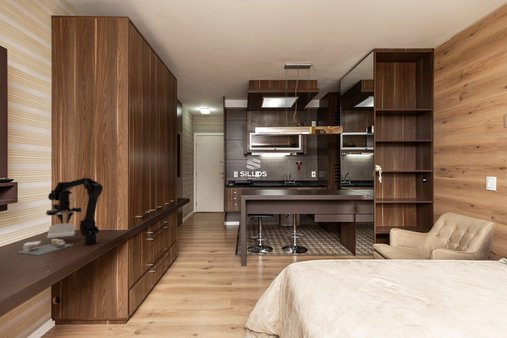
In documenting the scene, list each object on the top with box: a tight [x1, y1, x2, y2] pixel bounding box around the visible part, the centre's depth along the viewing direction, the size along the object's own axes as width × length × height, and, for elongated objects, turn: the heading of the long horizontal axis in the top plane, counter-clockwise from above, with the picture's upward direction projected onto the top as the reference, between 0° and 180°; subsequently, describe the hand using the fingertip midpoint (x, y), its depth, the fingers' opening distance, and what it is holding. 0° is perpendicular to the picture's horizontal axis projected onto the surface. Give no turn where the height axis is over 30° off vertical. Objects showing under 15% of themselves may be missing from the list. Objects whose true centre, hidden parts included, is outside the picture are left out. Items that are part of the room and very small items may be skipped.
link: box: [50, 237, 66, 247], centre depth 170 cm, size 15×4×3 cm, turn 53°
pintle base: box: [16, 239, 75, 257], centre depth 164 cm, size 18×21×5 cm
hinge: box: [46, 222, 76, 239], centre depth 199 cm, size 17×5×10 cm, turn 115°
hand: (64, 224), depth 181 cm, fingers open, 3 cm apart
